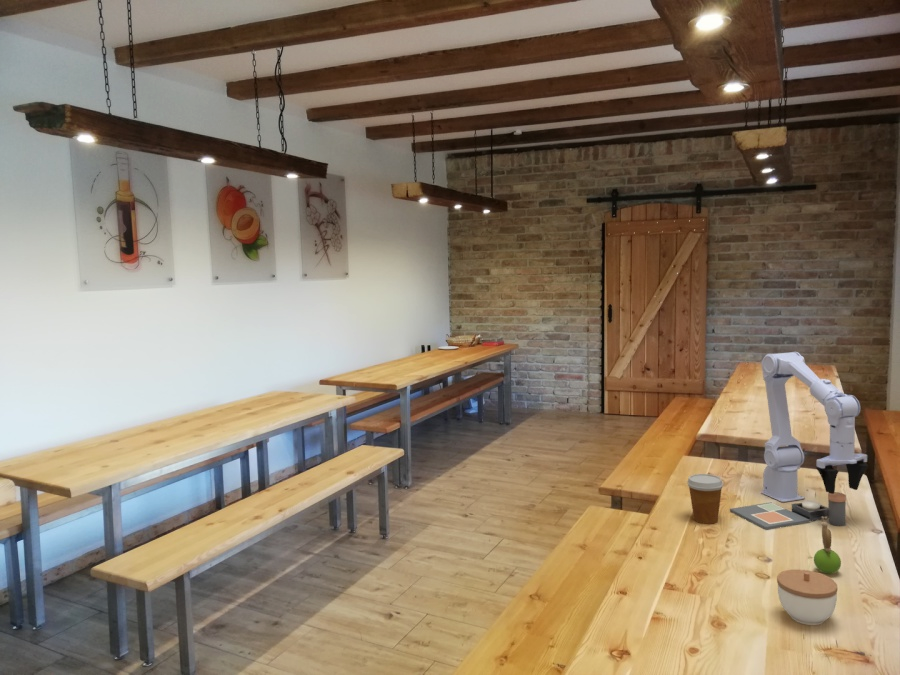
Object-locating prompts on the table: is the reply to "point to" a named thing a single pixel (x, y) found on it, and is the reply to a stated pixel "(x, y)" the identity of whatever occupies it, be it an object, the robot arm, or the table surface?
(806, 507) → the button
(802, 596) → the lidded jar
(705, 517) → the disposable coffee cup
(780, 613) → the table surface
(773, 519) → the picture board
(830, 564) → the green tan bulb piece
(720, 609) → the table surface
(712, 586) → the table surface
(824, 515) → the button housing
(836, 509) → the grey canister
